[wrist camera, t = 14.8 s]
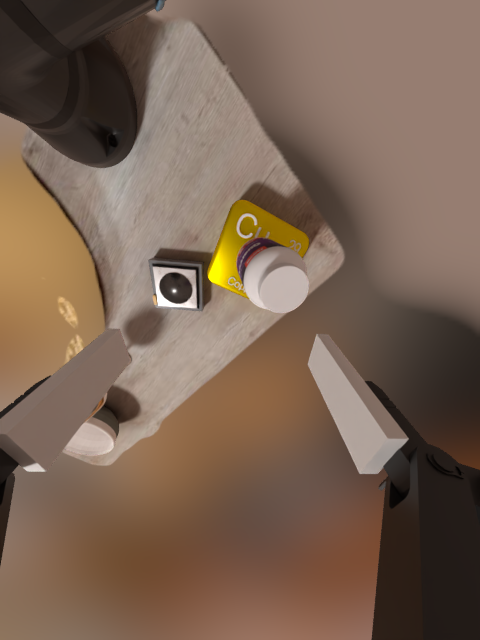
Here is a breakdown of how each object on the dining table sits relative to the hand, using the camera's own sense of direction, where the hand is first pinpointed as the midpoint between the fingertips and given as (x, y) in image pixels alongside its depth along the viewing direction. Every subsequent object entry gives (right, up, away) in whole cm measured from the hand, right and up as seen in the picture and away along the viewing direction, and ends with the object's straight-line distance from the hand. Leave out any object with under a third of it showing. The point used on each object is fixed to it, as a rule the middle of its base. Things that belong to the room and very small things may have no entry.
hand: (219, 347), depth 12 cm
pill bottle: (+5, +12, +20) cm, 24 cm away
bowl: (-45, -29, +48) cm, 72 cm away
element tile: (+4, +15, +24) cm, 29 cm away
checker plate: (-11, +9, +25) cm, 29 cm away
